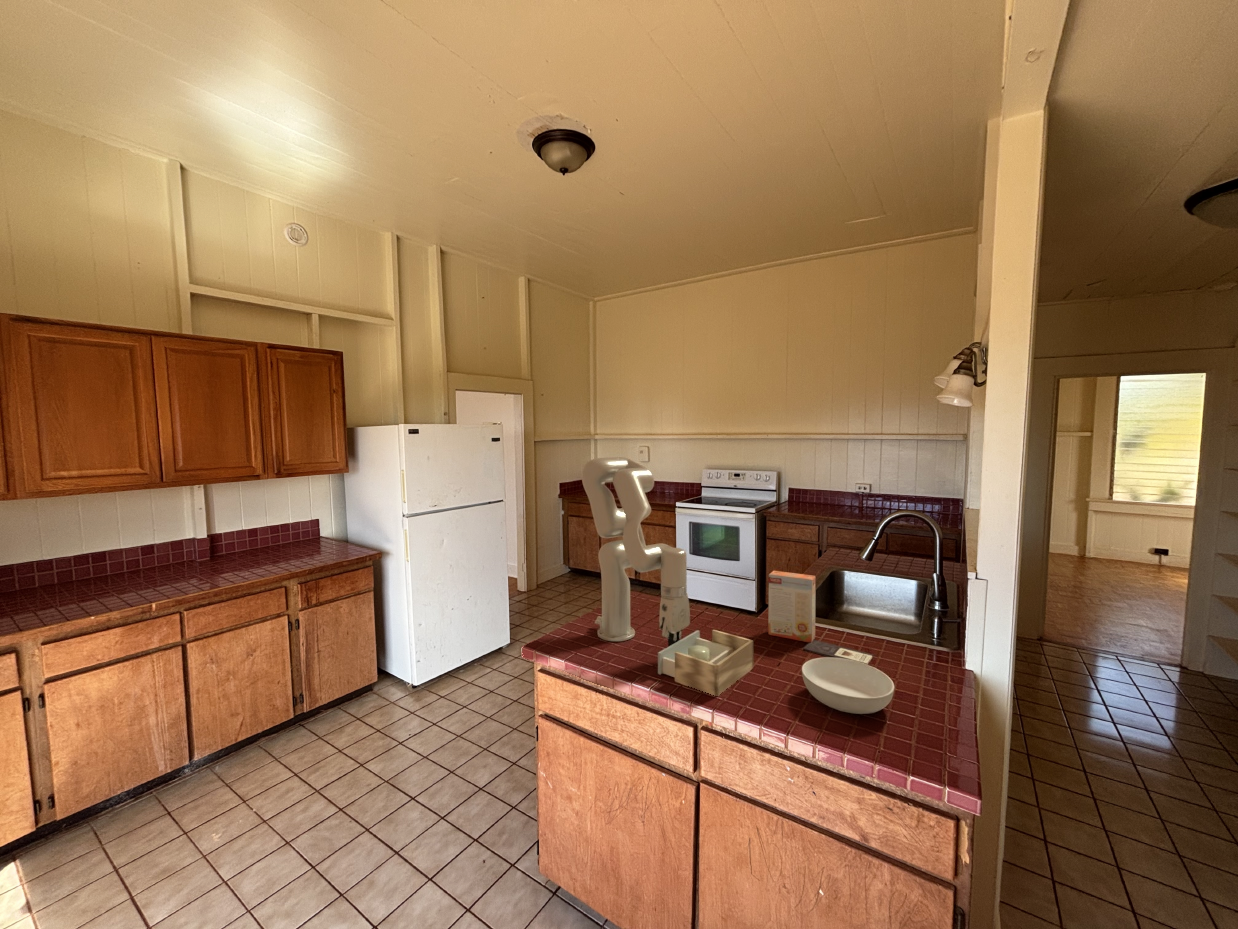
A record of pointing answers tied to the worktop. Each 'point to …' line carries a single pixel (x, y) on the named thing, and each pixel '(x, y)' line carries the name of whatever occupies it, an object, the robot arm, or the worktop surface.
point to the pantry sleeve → (716, 666)
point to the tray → (668, 654)
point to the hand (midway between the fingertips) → (674, 651)
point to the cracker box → (792, 606)
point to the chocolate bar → (837, 651)
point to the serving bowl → (847, 685)
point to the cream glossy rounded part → (699, 652)
